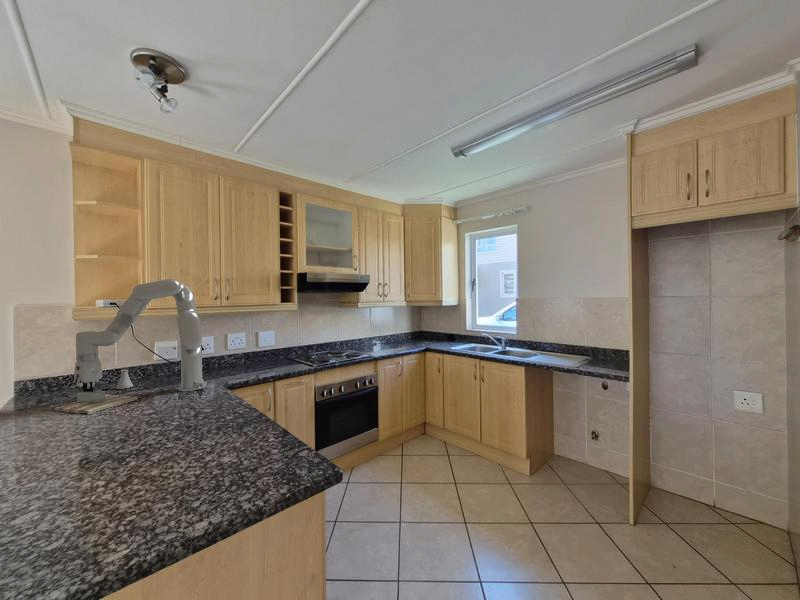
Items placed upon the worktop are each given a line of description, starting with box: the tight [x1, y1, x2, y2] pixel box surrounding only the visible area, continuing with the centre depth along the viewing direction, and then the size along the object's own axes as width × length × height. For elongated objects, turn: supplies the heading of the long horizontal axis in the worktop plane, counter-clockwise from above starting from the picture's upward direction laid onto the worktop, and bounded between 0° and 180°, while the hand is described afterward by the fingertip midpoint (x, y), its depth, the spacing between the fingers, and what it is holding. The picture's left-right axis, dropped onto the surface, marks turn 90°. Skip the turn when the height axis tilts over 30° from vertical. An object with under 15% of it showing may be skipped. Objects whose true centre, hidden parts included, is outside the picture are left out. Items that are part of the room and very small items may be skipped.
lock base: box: [55, 394, 139, 415], centre depth 149 cm, size 20×20×2 cm
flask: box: [115, 368, 134, 390], centre depth 180 cm, size 7×7×10 cm
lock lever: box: [75, 389, 106, 403], centre depth 150 cm, size 13×5×5 cm, turn 88°
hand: (88, 396), depth 153 cm, fingers closed
